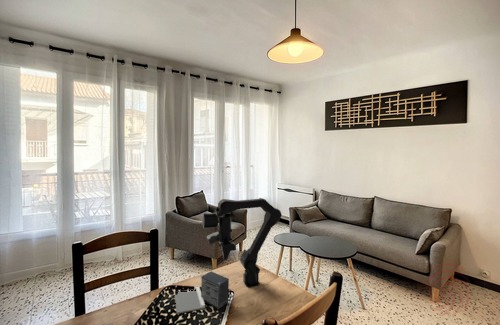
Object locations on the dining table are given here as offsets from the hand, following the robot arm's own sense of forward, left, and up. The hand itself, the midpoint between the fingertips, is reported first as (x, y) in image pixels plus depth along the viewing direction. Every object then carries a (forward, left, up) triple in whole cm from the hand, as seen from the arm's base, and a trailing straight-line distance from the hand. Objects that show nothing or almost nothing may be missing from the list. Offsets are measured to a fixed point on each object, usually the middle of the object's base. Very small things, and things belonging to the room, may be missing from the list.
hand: (225, 259), depth 122 cm
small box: (+7, +10, -13) cm, 18 cm away
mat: (+17, +6, -13) cm, 23 cm away
